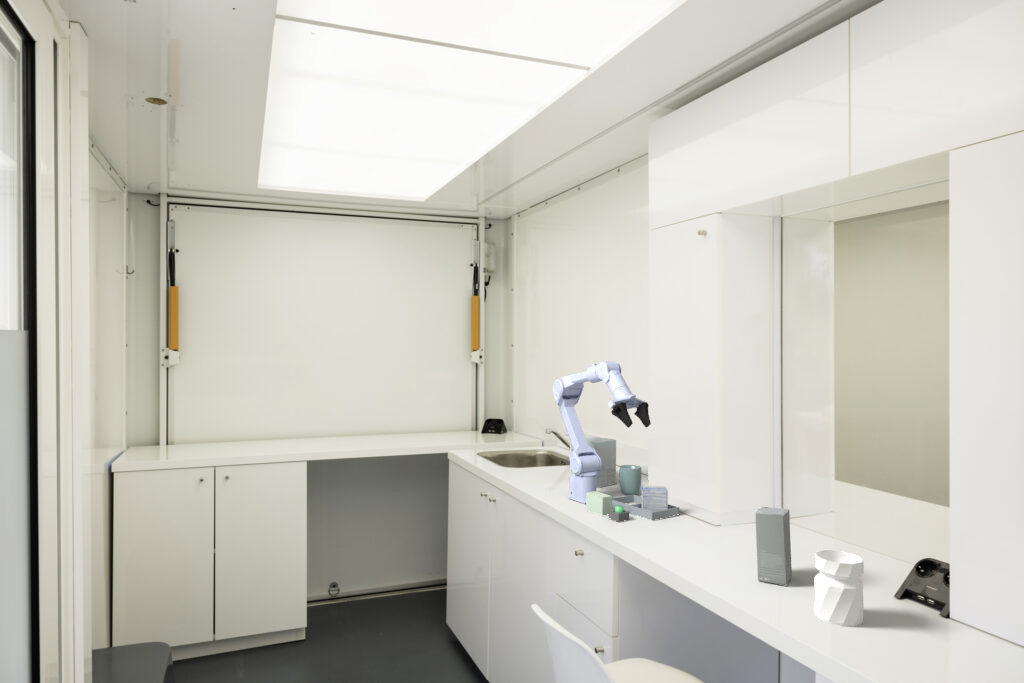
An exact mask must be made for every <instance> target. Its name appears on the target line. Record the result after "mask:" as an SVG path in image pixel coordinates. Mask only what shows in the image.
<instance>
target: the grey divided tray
mask: <svg viewBox="0 0 1024 683" xmlns="http://www.w3.org/2000/svg"><path fill="white" fill-rule="evenodd" d="M630 502H633V503H630ZM634 502H637V503H634ZM625 503H627V504H625ZM618 505H619V506H623V510H625V511H628V512H629V514H631V513H632V514H631V515H634V514H635V515H634V516H637V515H638V516H637V517H640V516H641V518H643V517H644V519H646V518H647V519H646V520H649V519H651V520H650V521H656V520H655V519H658V520H661V519H660V518H663V519H666V518H665V517H669V516H673V515H677V514H679V515H680V507H679V506H675V505H672V504H669V503H668V509H666V510H661V511H655V512H651V511H648V510H645V509H641V495H638V494H636V495H623V496H616V497H612V507H614V508H613V509H615V506H618ZM669 518H670V517H669Z"/></svg>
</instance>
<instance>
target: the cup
mask: <svg viewBox="0 0 1024 683" xmlns="http://www.w3.org/2000/svg"><path fill="white" fill-rule="evenodd" d="M618 470H619V471H618V472H619V477H618V478H619V479H618V480H619V488H620V492H621V493H622V494H623V495H624V496H629V495H638V494H639V492H640V491H641V487H642V466H640V465H634V464H622V465H620V466H619V469H618Z"/></svg>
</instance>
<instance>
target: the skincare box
mask: <svg viewBox="0 0 1024 683" xmlns="http://www.w3.org/2000/svg"><path fill="white" fill-rule="evenodd" d="M754 515H755V516H754V517H755V518H754V519H755V538H756V540H755V541H756V542H755V543H756V559H757V560H756V564H757V580H758V581H759V582H764V583H769V584H774V585H780V586H784V587H787V586H788V584H789V582H790V581H791V579H792V576H793V573H792V572H793V571H792V549H791V547H792V544H791V524H790V519H791V518H790V515H791V514H790V509H788V508H782V507H781V508H780V507H779V508H778V507H769V506H761V508H758V509H757V511H756V512H755V514H754Z"/></svg>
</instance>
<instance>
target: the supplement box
mask: <svg viewBox="0 0 1024 683" xmlns="http://www.w3.org/2000/svg"><path fill="white" fill-rule="evenodd" d="M585 439H586V441H587V444H588V446H590V447H591V448H593V449H595V450H596V453H597V455H598V456H599V457H600V459H601V461H602V467H601V470H600V471H599V472H598V475H596V489H599V487H600V488H604V487H608V486H612V485H616V484H617V440H616V439H615V438H614V439H613V438H609V437H608V438H607V437H600V436H599V437H598V436H593V435H590V436H585ZM572 452H573V447H572V444H571V441H570V440H569V455H570V454H571V453H572ZM570 464H571V463H570V462H569V479H570V478H571V476H572V474H574V473H573V471H572V469H571V465H570Z"/></svg>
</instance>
